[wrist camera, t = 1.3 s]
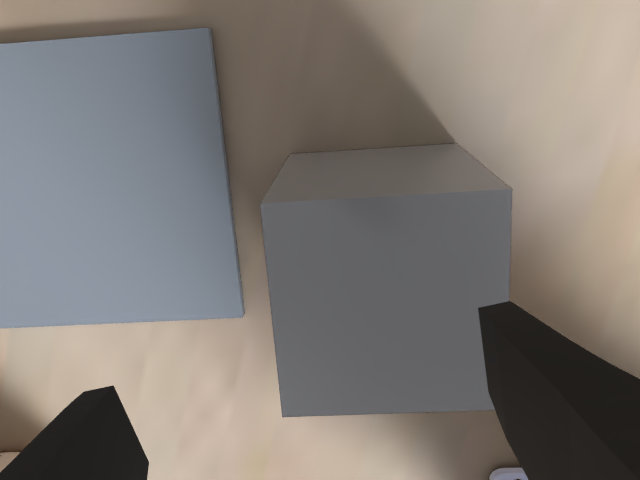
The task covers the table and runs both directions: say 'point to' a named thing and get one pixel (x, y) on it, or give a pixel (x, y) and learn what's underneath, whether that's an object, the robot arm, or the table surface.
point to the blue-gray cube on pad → (384, 278)
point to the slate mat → (114, 182)
